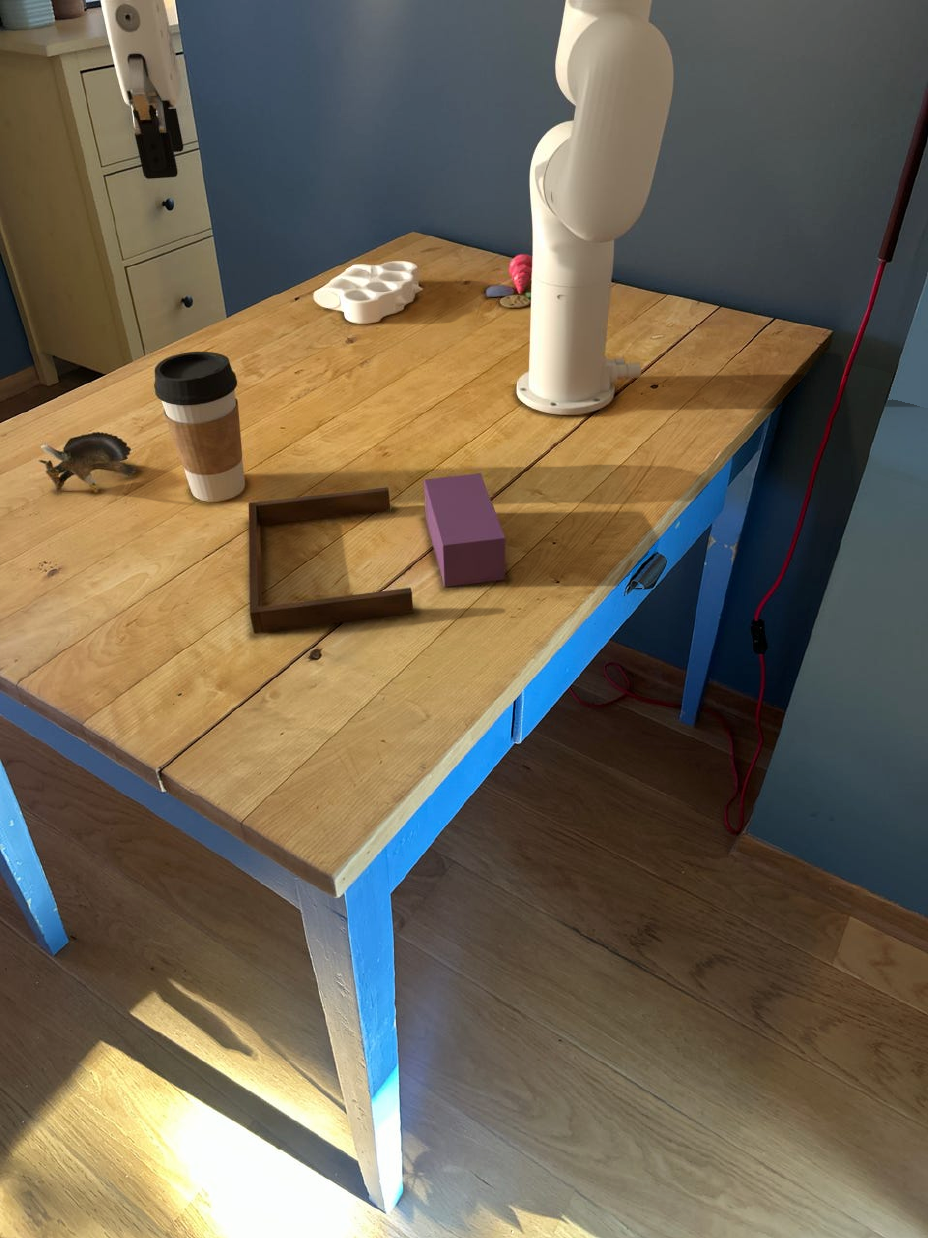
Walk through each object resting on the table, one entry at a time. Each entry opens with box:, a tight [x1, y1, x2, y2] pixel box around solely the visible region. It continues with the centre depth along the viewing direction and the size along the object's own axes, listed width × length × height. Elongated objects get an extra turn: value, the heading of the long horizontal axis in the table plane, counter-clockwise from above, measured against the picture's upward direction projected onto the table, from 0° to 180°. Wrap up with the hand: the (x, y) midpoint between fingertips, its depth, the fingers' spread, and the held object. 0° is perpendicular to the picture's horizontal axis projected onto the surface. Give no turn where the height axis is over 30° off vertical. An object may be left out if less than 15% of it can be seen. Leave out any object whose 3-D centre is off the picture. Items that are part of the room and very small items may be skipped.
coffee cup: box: [153, 351, 246, 503], centre depth 100 cm, size 8×8×15 cm
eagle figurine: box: [38, 431, 137, 493], centre depth 105 cm, size 8×7×9 cm
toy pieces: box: [485, 253, 533, 309], centre depth 147 cm, size 12×11×4 cm
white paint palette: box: [313, 260, 424, 325], centre depth 146 cm, size 3×18×15 cm
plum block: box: [423, 472, 506, 588], centre depth 94 cm, size 6×12×5 cm, turn 10°
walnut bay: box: [248, 486, 414, 634], centre depth 93 cm, size 15×19×2 cm
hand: (165, 163), depth 95 cm, fingers open, 9 cm apart
